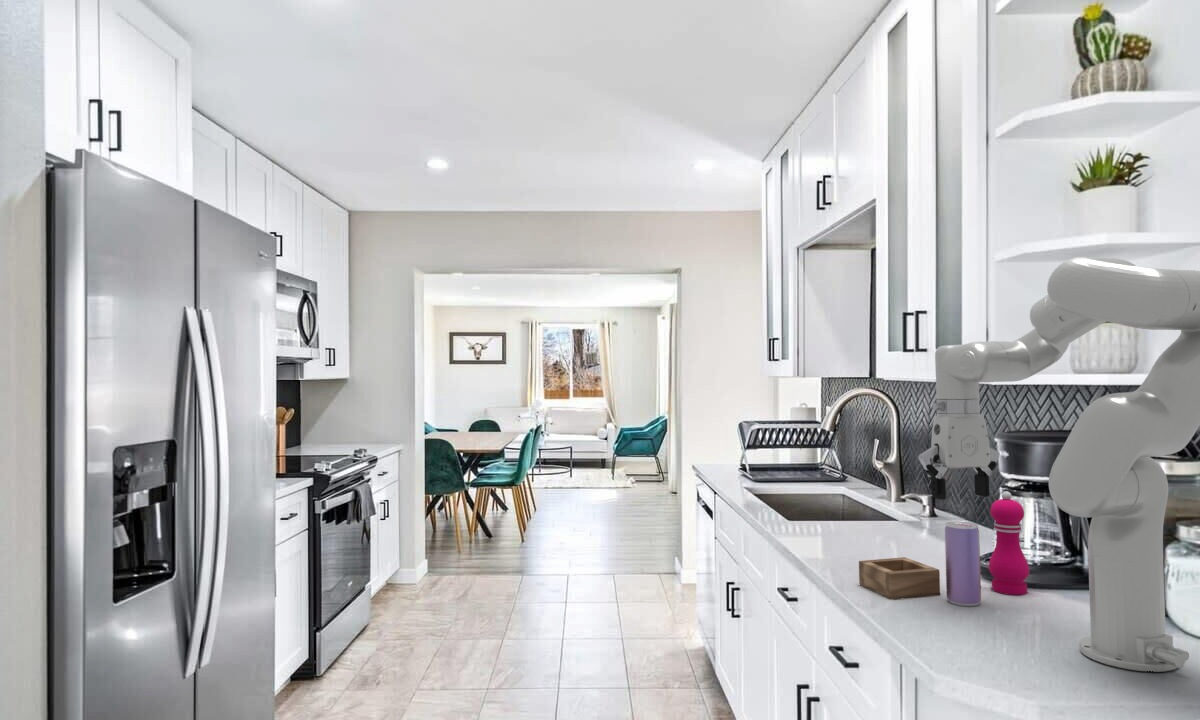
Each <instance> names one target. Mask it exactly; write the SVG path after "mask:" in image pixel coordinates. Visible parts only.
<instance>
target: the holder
mask: <svg viewBox="0 0 1200 720" xmlns="http://www.w3.org/2000/svg"><path fill="white" fill-rule="evenodd" d="M858 578H859V579H858V582H859V584H860V585H859V584H858V585H859V586H861V585H862V586H861V587H863V586H864V587H863V588H865V587H866V588H865V589H867V588H868V589H867V590H869V589H871V590H873V591H872V592H874V591H875V592H874V593H876V592H877V593H876V594H878V593H879V595H880V594H881V595H880V596H882V595H883V597H884V596H885V597H884V598H887V599H889V600H891V599H894V600H902V599H901V598H904V599H912V598H913V597H914V598H922V597H923V598H924V597H934V596H941V585H940V583H941V579H940V569H939V568H935V567H934V566H930V565H928V564H925V563H922V562H920V561H916V560H913V559H911V558H908V557H905V556H903V557H902V556H901V557H893V558H892V557H891V558H880V559H879V558H877V559H869V560H858ZM871 590H870V591H871Z"/></svg>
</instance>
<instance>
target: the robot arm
mask: <svg viewBox="0 0 1200 720" xmlns="http://www.w3.org/2000/svg"><path fill="white" fill-rule="evenodd" d="M1046 288H1047V290H1046V291H1047V295H1046V296H1044V297H1042V298H1040V299H1039V300H1038V301H1036V302H1035V303H1034V304H1033V305H1032V306H1031V308H1030V311H1029V320H1030V323H1031V325H1032V327H1033V328H1034V329H1032V330H1030V331H1029V332H1028V333H1025V334H1024V335H1023V336H1020V337H1019V338H1017V339H1015V340H1012V341H1003V340H1002V341H995V340H993V341H973V342H969V343H965V344H947V345H946V344H945V345H941V346H938V347H937V348H936V350H935V353H934V360H935V361H934V365H935V389H936V390H935V391H936V392H935V394H936V397H935V398H936V400H935V401H936V402H934V403H933V404H932V409H933V410H934V411H936V415H934V417H933V418H934V419H933V423H932V429H931V442H930V443H931V445H930V447H929V448H928V449H926V450H925V451H923V452H921V453H919V455H918V456H917V458H918V460H919V462H920V464H921V465H922V469H923V471H925V472H926V474H927V476H928V477H929V478H930V483H931V484H930V486H931V490H930V492H931V497H932V498H933V499H936V500H937V499H938V500H942V501H943V500H946V499H947V490H946V488H947V487H946V479H945V478H944V477H943V476H945V474H946V472H947V471H948V469H973V470H974V471H975V473H976V474H974V495H976V496H979V497H985V498H988V497H990V477H992V475H993V471H994V469H995V468H996V466H997V462H998V459H999V457H1000V455H1001V454H1000V451H998V450H996V449H994V448H992V447H990V440H989V433H988V428H987V424H986V420H985V416H984V415H980V414H981V413H980V412H981V411H980V409H981V408H980V384H979V383H994V382H995V383H999V382H1000V383H1005V382H1006V383H1007V382H1009V383H1010V382H1011V383H1012V382H1019V381H1023V380H1025V379H1028V378H1031V377H1034V375H1036V374H1038V373H1040V372H1042V371H1044V370H1045V369H1047V368H1049V367H1051V366H1053V365H1054V364H1055V363H1057V362H1058V361H1059V360H1060V359H1061V358H1062V357H1063V355H1065V353H1066V351H1067V350H1068V348H1069V346H1070V344H1071V343H1072V342H1074V341H1076V340H1078V339H1079V338H1081V337H1082V336H1084V335H1086V334H1087V333H1089V332H1090V331H1092V330H1095V329H1096V328H1097V327H1099V326H1101V325H1103V324H1105V323H1107V322H1108V323H1113V324H1117V325H1119V326H1120V325H1121V326H1125V327H1128V328H1134V329H1142V330H1151V331H1153V330H1154V331H1157V330H1158V331H1159V330H1161V331H1166V330H1167V331H1180V334H1179V336H1177V338H1176V339H1175V340H1174V341H1173V342H1172V343H1171V344H1170V345H1169V346H1168V347H1167V348H1166V349H1165V350H1164V351H1163V352H1161V354H1160V355H1159V356H1158V358H1157V359H1156V361H1155V362H1154V363H1153V365H1152V367H1151V369H1150V371H1149V373H1148V374H1147V376H1146V378H1145V379H1144V380H1143V381H1142V383H1141V385H1139V387H1138V388H1137V389H1136V390H1133V391H1131V392H1130V391H1127V392H1126V391H1125V392H1116V393H1114V392H1113V393H1109V394H1105V395H1103V396H1100V397H1099V398H1097V399H1095V400H1094V401H1092V402H1091V403H1090V404H1089V405H1088V406H1087V407H1086V408H1085V409H1084V410H1083V411H1082V412H1081V414H1080V416H1079V417H1078V419H1077V421H1076V423H1075V424H1074V426H1073V428H1072V429H1071V432H1070V433H1069V435H1068V436H1067V439H1066V441H1065V442H1064V444H1063V446H1062V447H1061V449H1060V451H1059V453H1058V454H1057V456H1056V458H1055V460H1054V462H1053V464H1052V466H1051V469H1050V471H1049V472H1050V473H1049V477H1048V490H1049V494H1050V496H1051V498H1052V501H1053V502H1054V504H1055V505H1056V506H1057V507H1058V509H1060V510H1061V511H1063V512H1065V513H1066V514H1068V515H1071V516H1073V517H1079V518H1091V520H1090V525H1089V529H1088V535H1087V536H1088V537H1087V556H1088V557H1087V558H1088V561H1087V562H1088V588H1089V618H1090V619H1089V620H1090V622H1089V623H1090V636H1088V637H1084V638H1082V639H1081V640H1080V641H1079V651H1080V652H1081V653H1082V654H1083V655H1084V656H1086V657H1088V658H1089V659H1092V660H1094V661H1096V662H1098V663H1101V664H1104V665H1108V666H1110V667H1111V666H1112V667H1115V668H1119V669H1123V670H1124V669H1125V670H1131V671H1137V672H1138V671H1139V672H1147V671H1148V672H1149V671H1151V672H1152V671H1153V672H1152V673H1160V672H1163V673H1164V672H1170V671H1171V672H1172V671H1174V670H1176V669H1178V668H1182V667H1184V666H1185V663H1186V661H1188V660H1189V659H1190V653H1189V652H1188V651H1186V650H1183V649H1180V648H1176V647H1174V644H1173V643H1174V640H1173V639H1174V637H1173V635H1170V634H1167V632H1166V609H1165V608H1166V607H1165V606H1166V605H1165V582H1164V581H1165V580H1164V578H1165V577H1164V576H1165V575H1164V540H1163V539H1164V524H1165V523H1164V521H1165V514H1166V509H1167V503H1168V497H1169V482H1168V477H1167V475H1166V473H1165V471H1164V469H1163V467H1161V464H1160V463H1158V461H1156V460H1154V458H1152V457H1162V456H1169V455H1174V454H1176V453H1178V452H1181V451H1182V450H1183V449H1185V448H1186V446H1187V445H1188V444H1189V443H1190V441H1191V439H1192V438H1193V437H1194V435H1195V434H1196V433H1197V430H1198V429H1199V427H1200V270H1195V269H1194V270H1192V269H1191V270H1190V269H1169V268H1168V269H1167V268H1152V267H1144V266H1143V267H1142V266H1137V265H1135V264H1134V263H1132V262H1130V261H1128V260H1125V259H1120V258H1114V257H1098V256H1097V257H1096V256H1076V257H1072V258H1070V259H1067V260H1065V261H1063V262H1062V263H1061V264H1059V265H1058V266H1057V267H1055V269H1054V270H1053V271H1052V272H1051V274H1050V276H1049V278H1048V281H1047V287H1046ZM931 462H932V464H931ZM1151 672H1149V673H1151Z"/></svg>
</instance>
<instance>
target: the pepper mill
mask: <svg viewBox="0 0 1200 720" xmlns="http://www.w3.org/2000/svg"><path fill="white" fill-rule="evenodd" d="M1012 497H1013V496H1012V493H1011V492H1009V491H1003V492H1002V493H1001V499H997V500H995V501H994V502H993V503H992V504H991V506H990V511H989V512H990V516H991V517H992V518H993V520H994V521H995V522H993V530H994V531H995V532H996V543H995V547H994V550H993V552H992V554H991V556H990V557H989V562H988V571H989V573H990V575H992V577H993V579H992V580H991V589H992V590H993V592H996V593H999V594H1003V595H1007V596H1008V595H1009V596H1023V595H1026V594H1027V593H1028V583H1026V582H1025V580H1026V579H1027V578H1028V576H1029V575H1030V566H1029V564H1028V561H1027V559H1026V557H1025V555H1024V552H1023V550H1022V548H1021V545H1020V543H1021V542H1020V533H1021V532H1022V531H1023V529H1022V524H1021V523H1020V522H1021V521H1022V520H1023V519H1024V517H1025V510H1024V507H1023V506H1022V505H1021V503H1020V502H1018V501H1017V500H1014V499H1012Z"/></svg>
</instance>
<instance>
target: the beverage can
mask: <svg viewBox="0 0 1200 720" xmlns="http://www.w3.org/2000/svg"><path fill="white" fill-rule="evenodd" d="M944 543H945V544H944V545H945V578H946V579H945V582H946V583H945V585H946V586H945V587H946V589H945V590H946V599H947V600H948V602H949V604H953V605H956V606H961V607H977V606H978V605H980V603H981V602H982V585H981V584H982V583H981V580H982V579H981V551H980V550H981V549H980V545H981V544H980V530H979V525H978V524H977V523H973V522H968V521H958V520H957V521H948V522H946V523H945V528H944Z"/></svg>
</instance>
